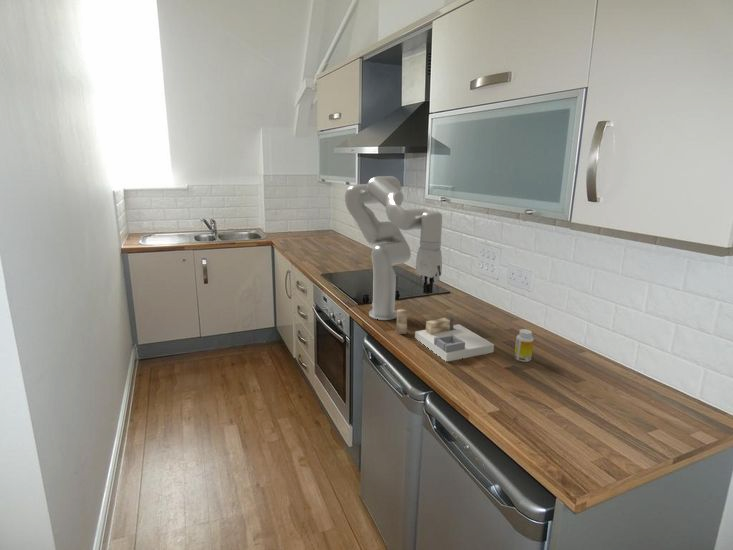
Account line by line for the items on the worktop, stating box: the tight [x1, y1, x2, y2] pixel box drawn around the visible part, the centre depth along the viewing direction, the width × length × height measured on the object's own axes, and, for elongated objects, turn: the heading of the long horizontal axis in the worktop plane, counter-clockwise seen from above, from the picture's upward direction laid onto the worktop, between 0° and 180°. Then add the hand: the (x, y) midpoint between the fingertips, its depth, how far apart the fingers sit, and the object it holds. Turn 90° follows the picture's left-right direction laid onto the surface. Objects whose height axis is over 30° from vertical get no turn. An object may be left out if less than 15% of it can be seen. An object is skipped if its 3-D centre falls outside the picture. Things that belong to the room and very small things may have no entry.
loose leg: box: [395, 308, 409, 335], centre depth 173 cm, size 4×4×9 cm
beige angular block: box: [425, 316, 455, 334], centre depth 169 cm, size 12×3×4 cm, turn 119°
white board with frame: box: [414, 323, 495, 362], centre depth 163 cm, size 21×20×6 cm
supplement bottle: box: [513, 328, 535, 363], centre depth 153 cm, size 6×6×10 cm
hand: (427, 292), depth 169 cm, fingers closed
